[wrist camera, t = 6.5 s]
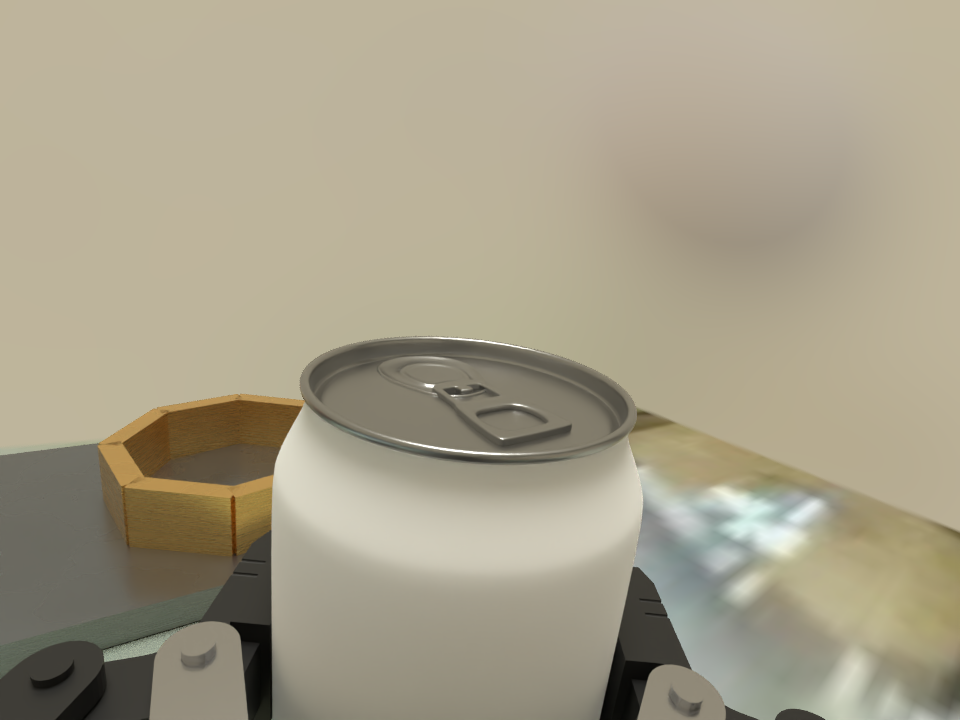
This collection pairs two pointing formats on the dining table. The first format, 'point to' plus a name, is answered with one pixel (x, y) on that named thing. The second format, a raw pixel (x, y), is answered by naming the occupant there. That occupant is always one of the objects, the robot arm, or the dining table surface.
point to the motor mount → (134, 523)
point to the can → (451, 534)
